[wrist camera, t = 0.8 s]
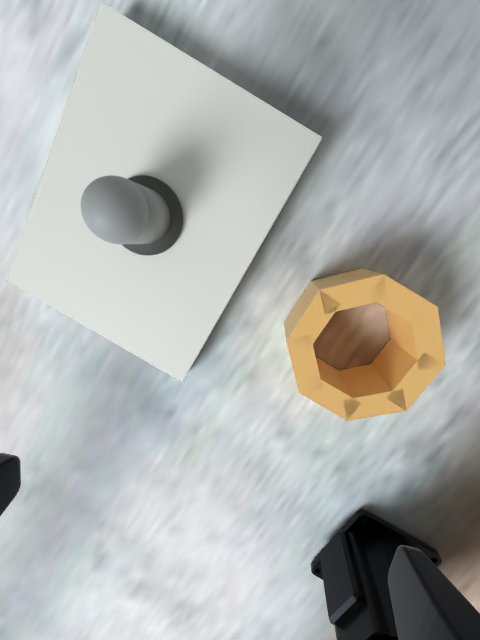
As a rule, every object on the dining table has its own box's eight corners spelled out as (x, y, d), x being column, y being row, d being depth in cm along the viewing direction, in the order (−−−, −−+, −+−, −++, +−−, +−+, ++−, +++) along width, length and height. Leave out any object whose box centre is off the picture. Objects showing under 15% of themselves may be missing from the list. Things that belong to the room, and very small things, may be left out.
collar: (436, 312, 17) (475, 329, 14) (362, 405, 19) (381, 440, 16) (331, 249, 17) (345, 250, 14) (266, 349, 19) (264, 372, 16)
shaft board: (317, 147, 16) (343, 90, 10) (188, 371, 20) (152, 425, 14) (117, 24, 16) (21, -109, 10) (26, 278, 20) (-81, 293, 14)
